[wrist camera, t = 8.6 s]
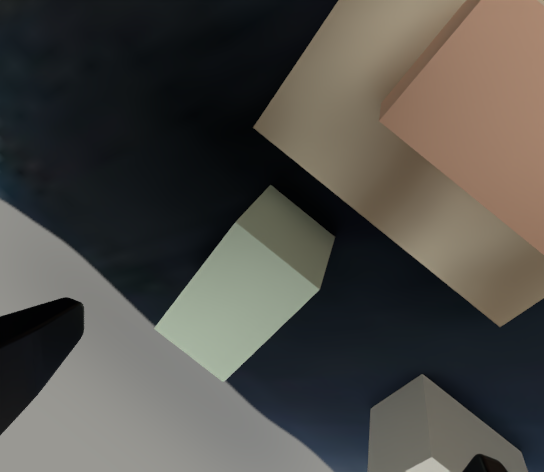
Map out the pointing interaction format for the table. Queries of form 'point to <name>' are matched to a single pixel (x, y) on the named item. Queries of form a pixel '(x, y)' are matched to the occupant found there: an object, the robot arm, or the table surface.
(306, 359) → the table surface
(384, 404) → the cream brick
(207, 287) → the sage brick
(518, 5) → the terracotta brick
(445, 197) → the birch board
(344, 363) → the table surface
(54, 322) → the robot arm
